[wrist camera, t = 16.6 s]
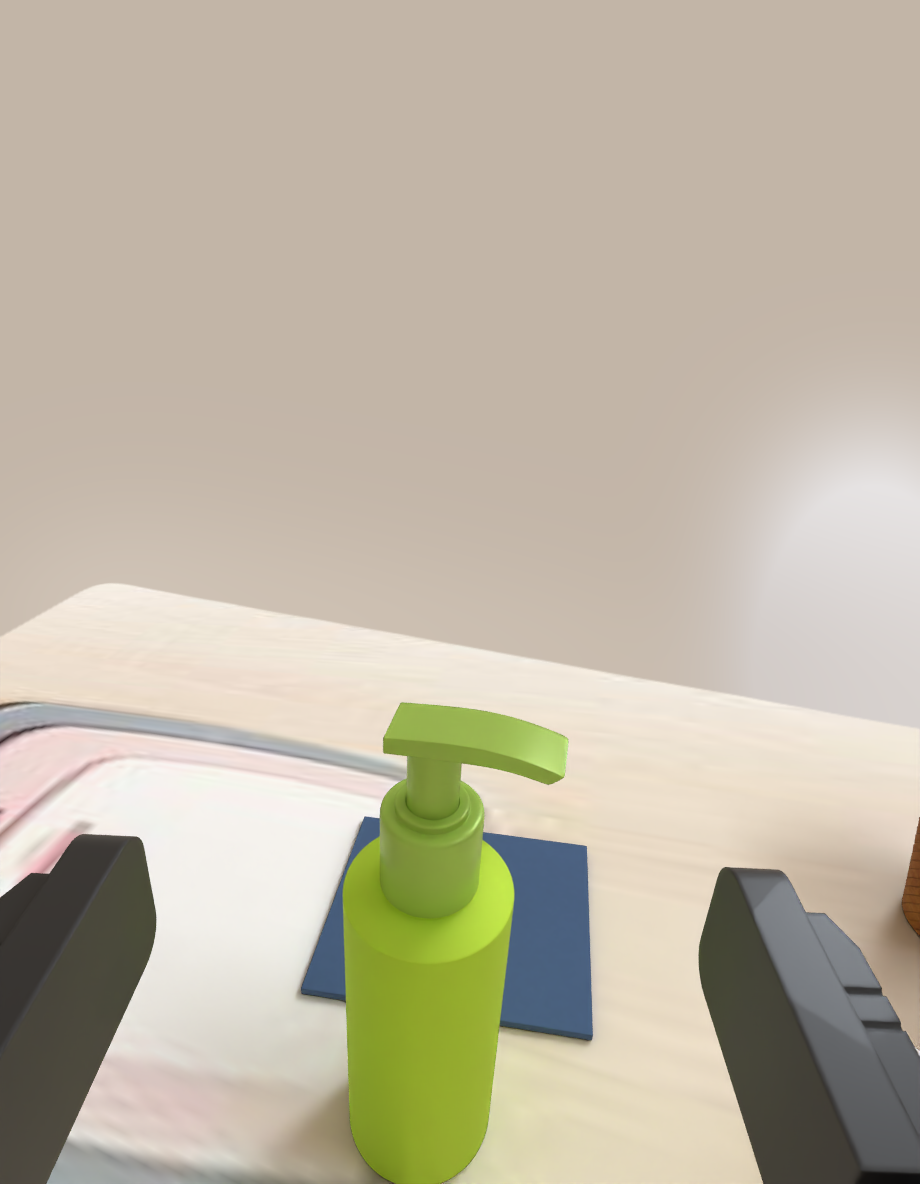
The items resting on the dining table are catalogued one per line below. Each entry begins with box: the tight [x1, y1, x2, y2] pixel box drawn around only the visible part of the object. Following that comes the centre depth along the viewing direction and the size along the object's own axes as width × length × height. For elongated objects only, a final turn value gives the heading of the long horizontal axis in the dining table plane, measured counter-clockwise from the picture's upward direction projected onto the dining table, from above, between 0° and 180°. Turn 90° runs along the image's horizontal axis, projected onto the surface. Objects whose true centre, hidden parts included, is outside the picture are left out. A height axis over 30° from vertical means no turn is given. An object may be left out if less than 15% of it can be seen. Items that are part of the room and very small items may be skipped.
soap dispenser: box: [343, 703, 568, 1184], centre depth 26 cm, size 6×7×20 cm
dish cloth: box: [301, 817, 593, 1040], centre depth 39 cm, size 14×12×1 cm
